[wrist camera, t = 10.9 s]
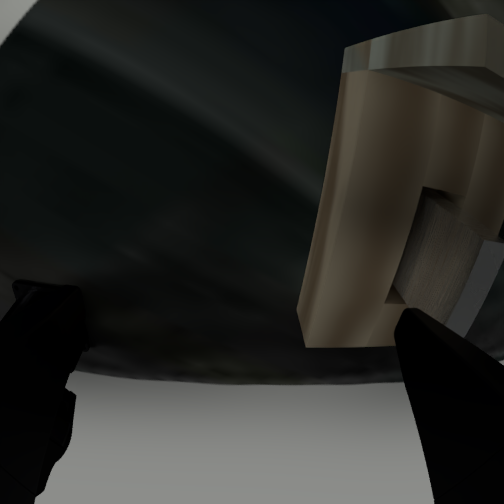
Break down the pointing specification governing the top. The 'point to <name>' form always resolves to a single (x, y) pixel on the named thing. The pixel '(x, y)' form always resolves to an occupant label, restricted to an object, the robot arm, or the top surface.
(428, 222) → the bracket plate
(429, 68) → the post base
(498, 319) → the top surface
